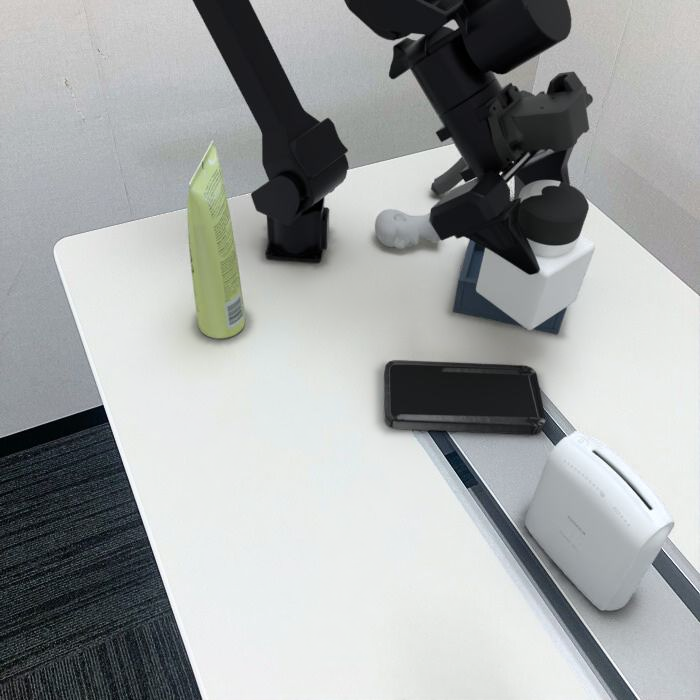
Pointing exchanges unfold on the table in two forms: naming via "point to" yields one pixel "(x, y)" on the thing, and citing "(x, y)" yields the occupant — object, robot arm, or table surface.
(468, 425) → the phone
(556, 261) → the medicine bottle
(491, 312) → the bin
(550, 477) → the photo printer
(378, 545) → the table surface
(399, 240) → the pale two-lobed sculpture
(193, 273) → the tube
